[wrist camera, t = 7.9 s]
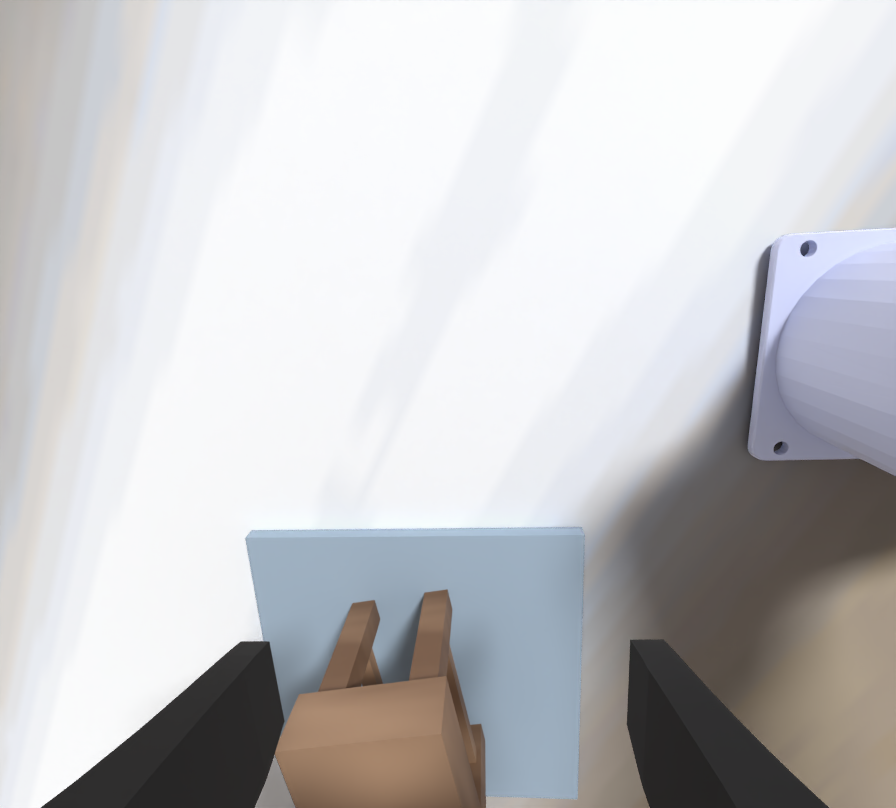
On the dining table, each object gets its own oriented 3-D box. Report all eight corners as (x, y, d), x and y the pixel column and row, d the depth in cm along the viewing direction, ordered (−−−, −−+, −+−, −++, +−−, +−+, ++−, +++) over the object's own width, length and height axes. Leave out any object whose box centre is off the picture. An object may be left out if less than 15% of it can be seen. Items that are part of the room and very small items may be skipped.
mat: (581, 527, 20) (584, 535, 19) (575, 786, 24) (577, 799, 23) (251, 530, 21) (245, 537, 20) (294, 777, 25) (290, 789, 24)
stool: (495, 746, 22) (501, 950, 16) (391, 757, 23) (354, 957, 16) (454, 579, 20) (441, 733, 14) (341, 596, 21) (274, 751, 14)
